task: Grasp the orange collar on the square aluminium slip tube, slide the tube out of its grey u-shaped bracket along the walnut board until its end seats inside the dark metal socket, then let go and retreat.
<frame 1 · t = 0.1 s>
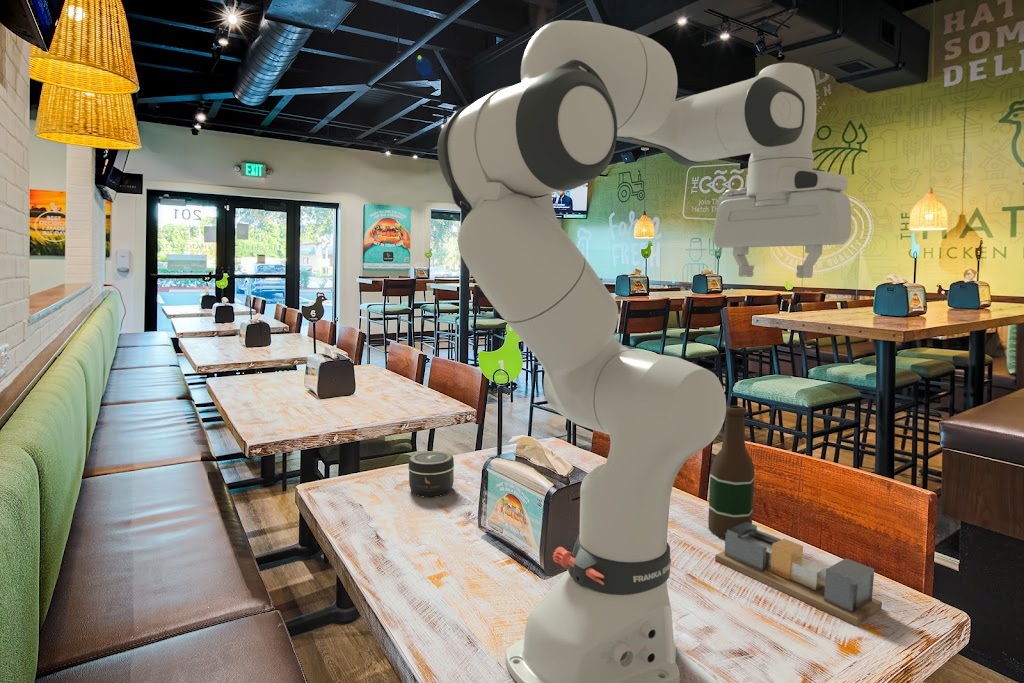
hand: (773, 277, 91), 48 cm above the table, tool pointing down, fingers open, 8 cm apart
board: (792, 582, 95), on the table
grey u-shaped bracket: (752, 564, 101), resting on board
jar: (431, 491, 134), on the table
socket: (847, 607, 88), resting on board
beer bottle: (729, 533, 114), on the table
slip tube: (778, 555, 97), point 3 cm above the table, slide at 0.0 cm
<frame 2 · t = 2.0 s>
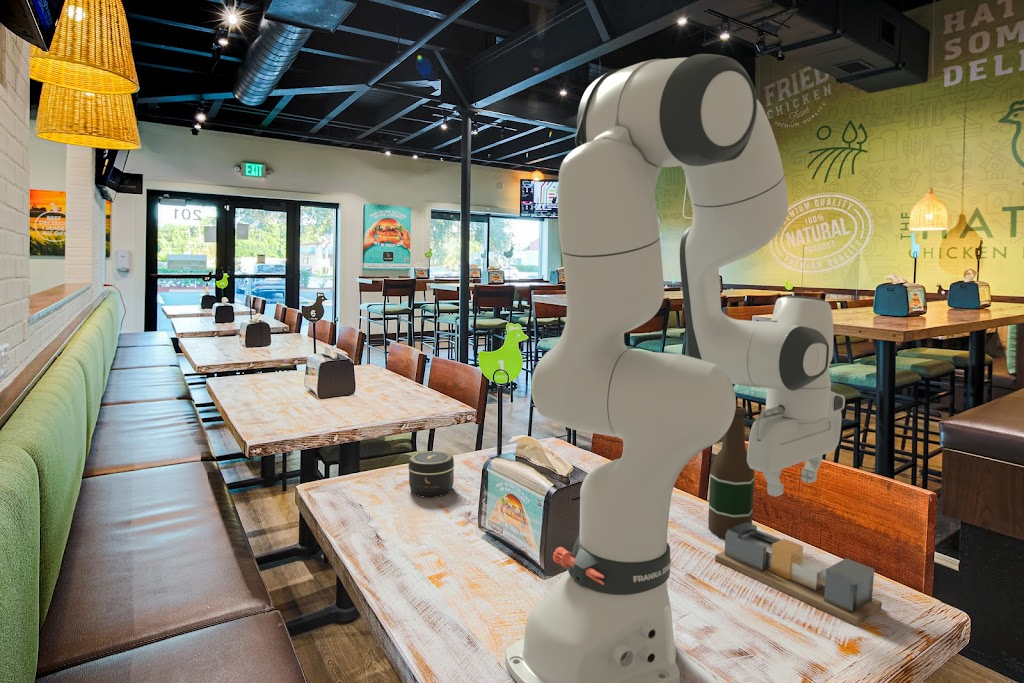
hand: (792, 487, 95), 15 cm above the table, tool pointing down, fingers open, 8 cm apart
nothing on the table moved.
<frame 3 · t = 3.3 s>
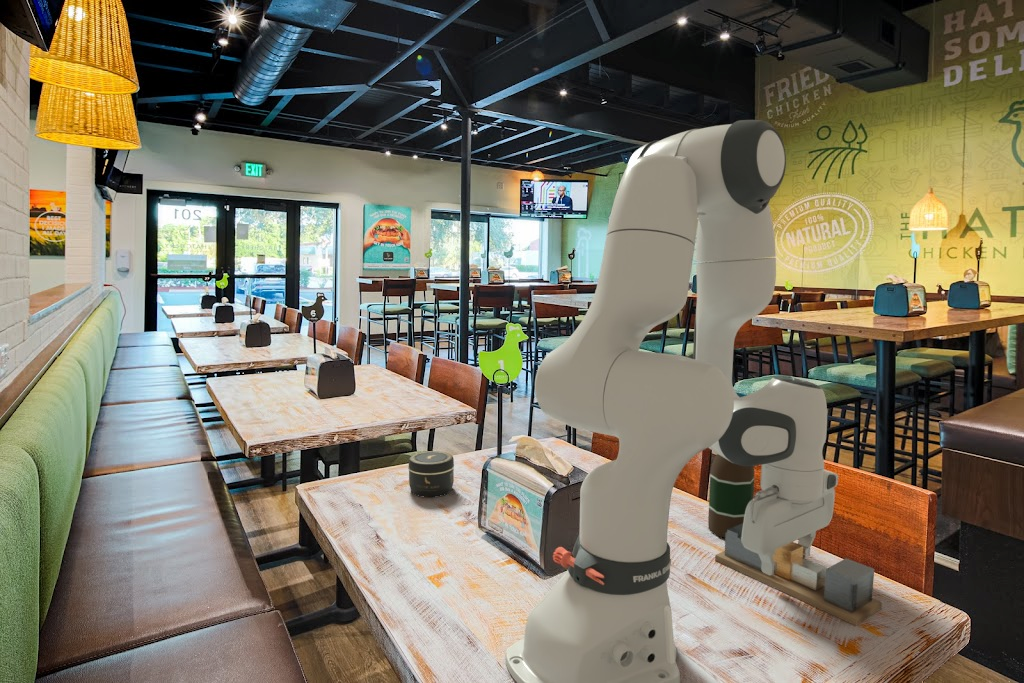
hand: (786, 564, 96), 3 cm above the table, tool pointing down, fingers open, 8 cm apart
nothing on the table moved.
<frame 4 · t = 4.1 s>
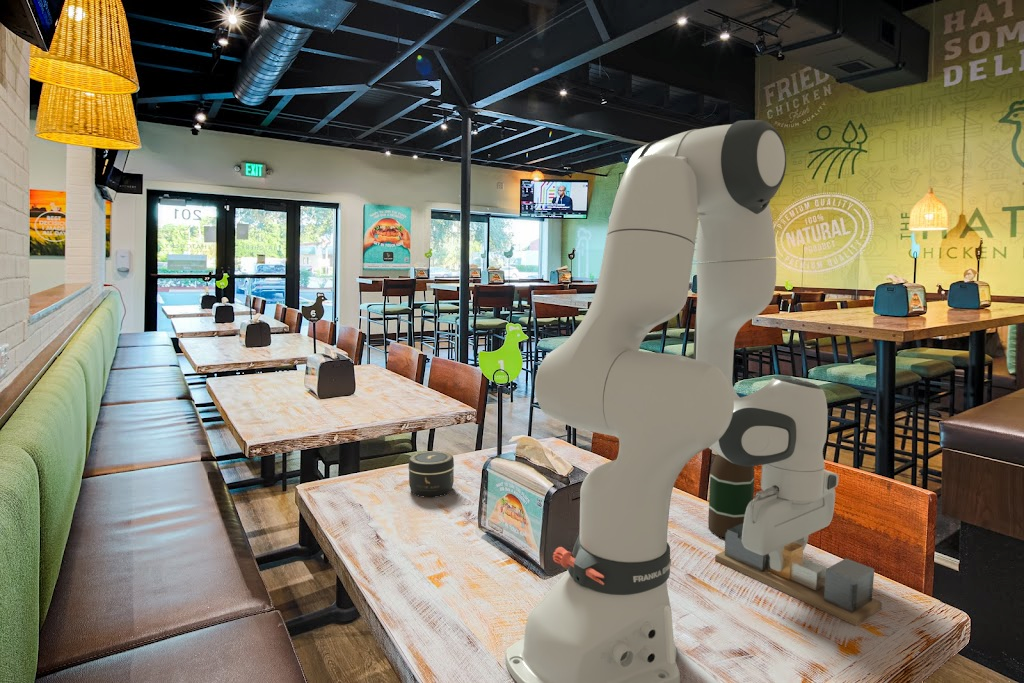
hand: (786, 564, 96), 3 cm above the table, tool pointing down, fingers closed on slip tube, 3 cm apart
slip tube: (778, 555, 97), point 4 cm above the table, slide at 0.0 cm, touching gripper
everything else where it was.
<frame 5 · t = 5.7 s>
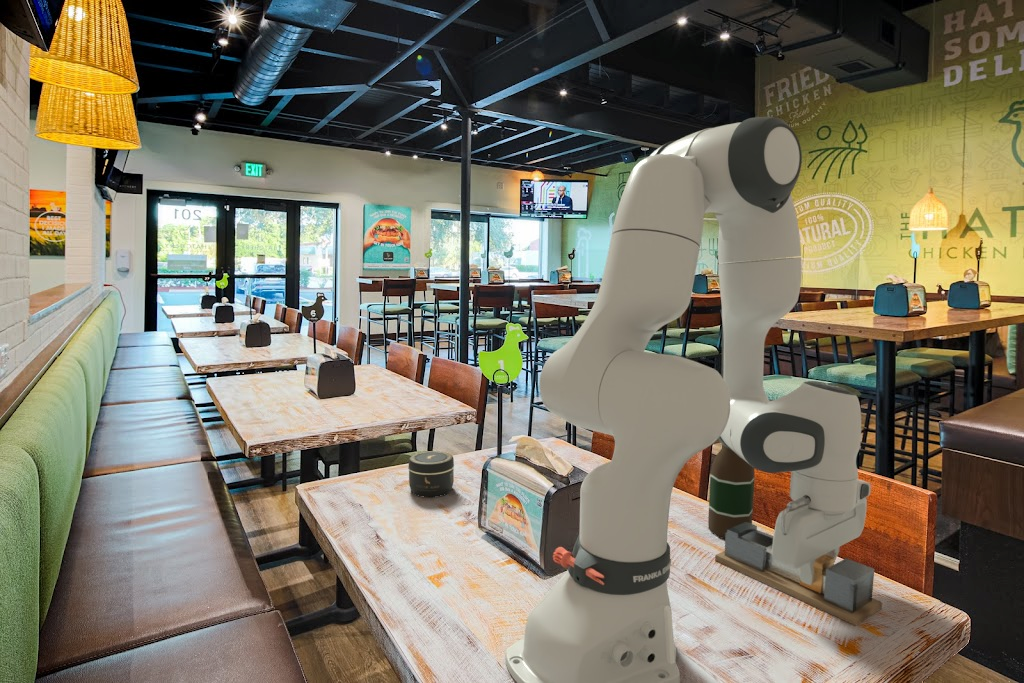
hand: (816, 577, 92), 3 cm above the table, tool pointing down, fingers closed on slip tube, 3 cm apart
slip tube: (808, 567, 93), point 4 cm above the table, slide at 4.9 cm, touching gripper
everything else where it was.
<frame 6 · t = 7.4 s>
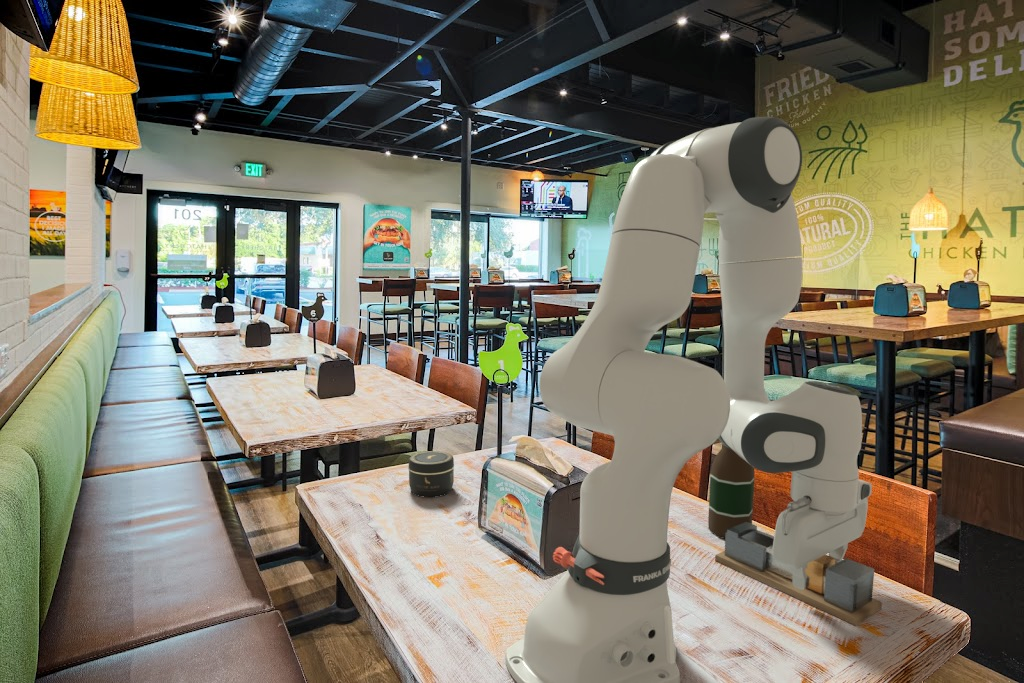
hand: (817, 577, 92), 3 cm above the table, tool pointing down, fingers open, 8 cm apart
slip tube: (808, 567, 93), point 4 cm above the table, slide at 5.0 cm
everything else where it was.
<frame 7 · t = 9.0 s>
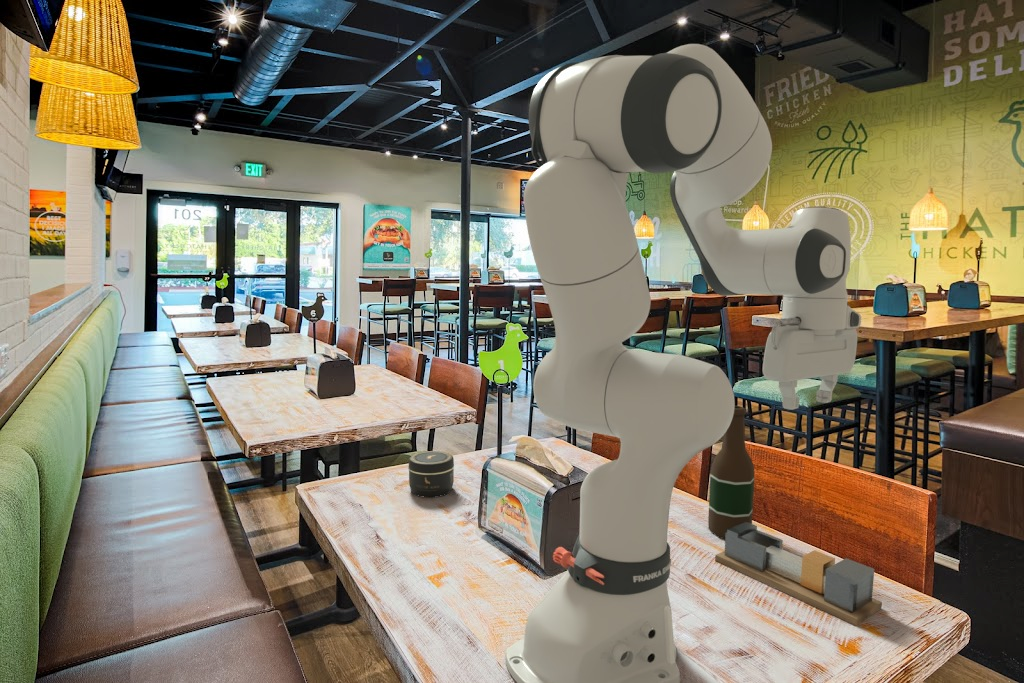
hand: (807, 405, 94), 28 cm above the table, tool pointing down, fingers open, 8 cm apart
nothing on the table moved.
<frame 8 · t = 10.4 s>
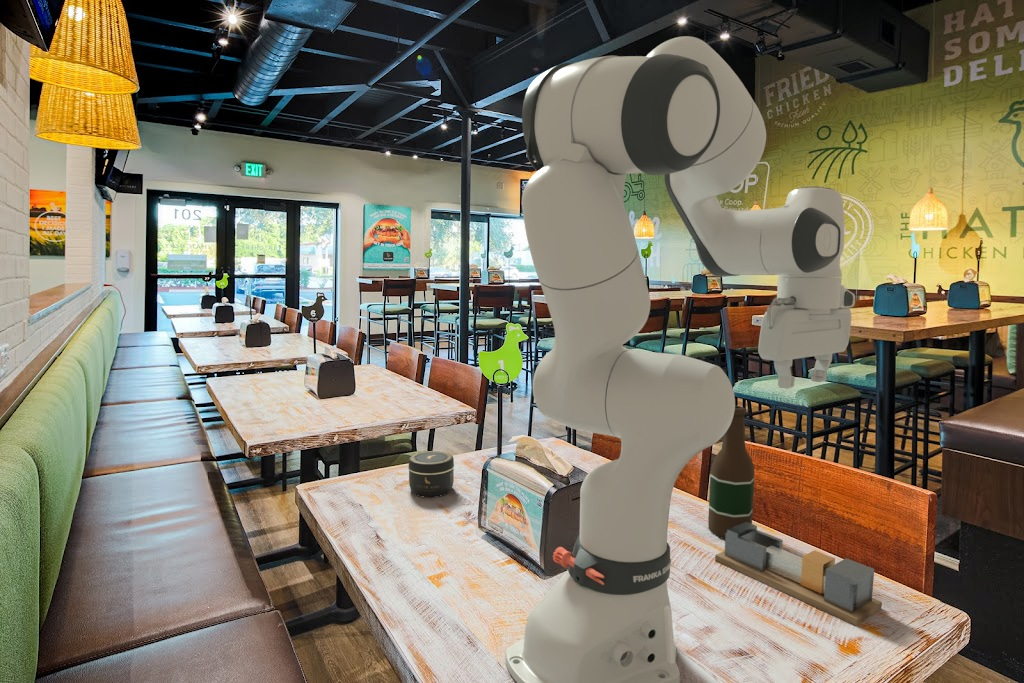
hand: (802, 384, 95), 31 cm above the table, tool pointing down, fingers open, 8 cm apart
nothing on the table moved.
at the end: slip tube slide at 5.0 cm; the gripper is holding nothing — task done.
